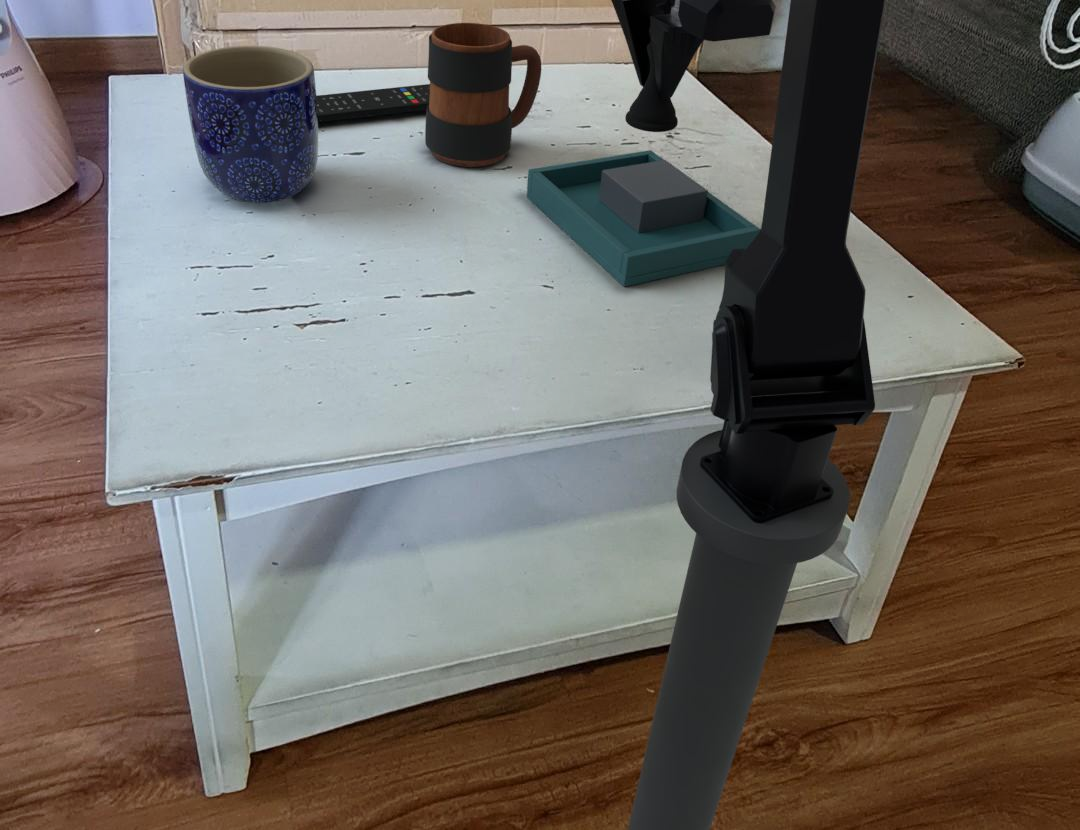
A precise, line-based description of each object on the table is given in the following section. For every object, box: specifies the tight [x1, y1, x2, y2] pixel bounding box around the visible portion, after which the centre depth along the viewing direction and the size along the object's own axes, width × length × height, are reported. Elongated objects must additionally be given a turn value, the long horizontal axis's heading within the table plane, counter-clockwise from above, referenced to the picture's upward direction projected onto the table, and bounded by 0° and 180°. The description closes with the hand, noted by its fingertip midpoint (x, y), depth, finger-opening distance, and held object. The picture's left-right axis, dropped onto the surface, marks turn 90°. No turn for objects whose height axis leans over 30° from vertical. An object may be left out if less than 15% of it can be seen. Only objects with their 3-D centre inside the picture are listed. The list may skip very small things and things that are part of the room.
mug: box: [424, 22, 542, 168], centre depth 98 cm, size 9×12×12 cm
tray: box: [526, 149, 761, 288], centre depth 90 cm, size 18×14×3 cm
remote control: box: [316, 83, 430, 123], centre depth 107 cm, size 5×24×1 cm, turn 116°
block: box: [599, 159, 709, 233], centre depth 91 cm, size 7×7×3 cm
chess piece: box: [624, 0, 679, 133], centre depth 81 cm, size 4×4×10 cm
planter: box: [182, 45, 319, 204], centre depth 89 cm, size 11×11×11 cm
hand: (655, 92), depth 83 cm, fingers closed on chess piece, 2 cm apart
